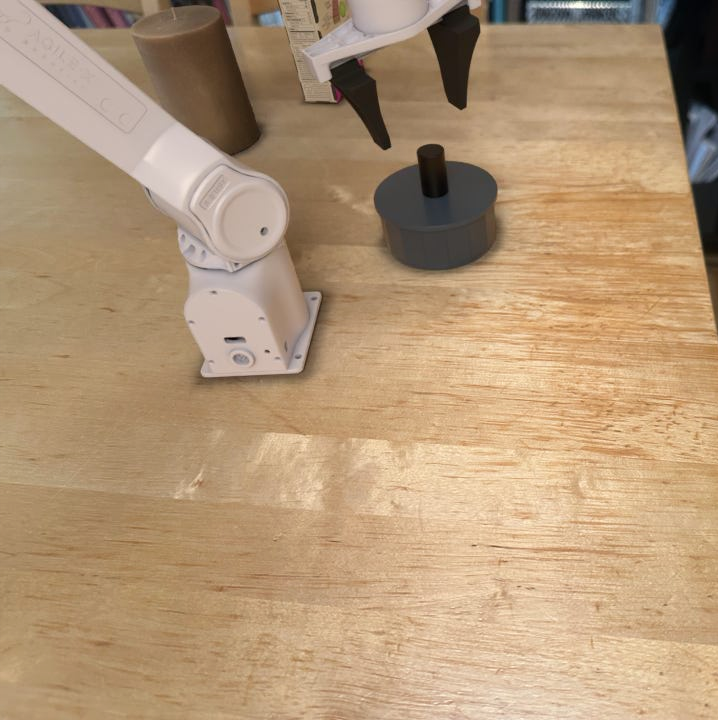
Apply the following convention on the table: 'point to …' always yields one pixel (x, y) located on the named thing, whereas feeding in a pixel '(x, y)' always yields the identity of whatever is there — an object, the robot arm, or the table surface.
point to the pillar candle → (197, 74)
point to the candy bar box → (312, 39)
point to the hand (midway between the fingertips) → (420, 124)
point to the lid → (435, 193)
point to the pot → (441, 244)
